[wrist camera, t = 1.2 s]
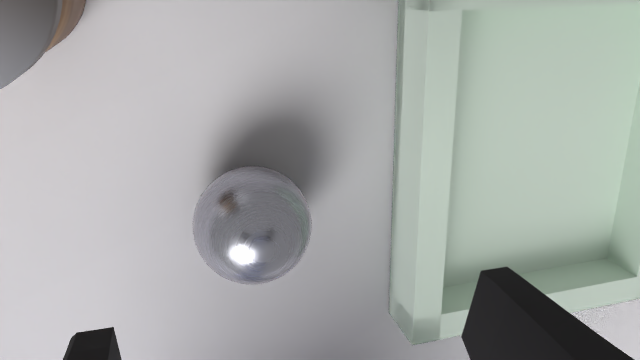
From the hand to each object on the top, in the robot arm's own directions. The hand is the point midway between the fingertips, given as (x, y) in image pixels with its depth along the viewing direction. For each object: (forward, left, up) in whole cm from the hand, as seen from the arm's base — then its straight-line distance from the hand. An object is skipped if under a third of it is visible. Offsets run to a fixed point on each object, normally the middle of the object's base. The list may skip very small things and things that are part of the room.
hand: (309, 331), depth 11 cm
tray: (0, -12, -10) cm, 16 cm away
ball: (-1, 0, -10) cm, 10 cm away
